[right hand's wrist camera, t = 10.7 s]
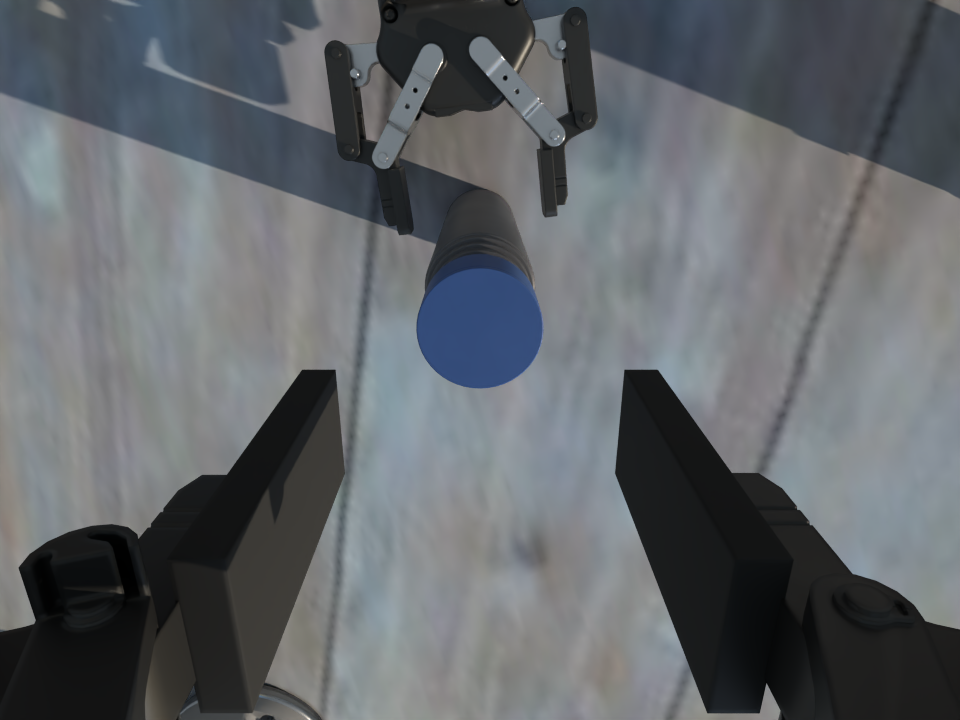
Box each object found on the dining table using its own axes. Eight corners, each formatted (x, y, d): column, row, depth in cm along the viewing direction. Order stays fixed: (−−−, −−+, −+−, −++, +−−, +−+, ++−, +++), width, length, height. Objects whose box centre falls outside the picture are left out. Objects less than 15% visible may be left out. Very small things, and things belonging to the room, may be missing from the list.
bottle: (474, 270, 44) (468, 413, 22) (432, 217, 43) (383, 315, 21) (527, 230, 43) (574, 338, 21) (486, 174, 42) (493, 230, 20)
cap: (470, 384, 24) (469, 410, 22) (398, 300, 23) (390, 319, 21) (560, 321, 23) (568, 341, 21) (490, 229, 22) (491, 241, 20)
